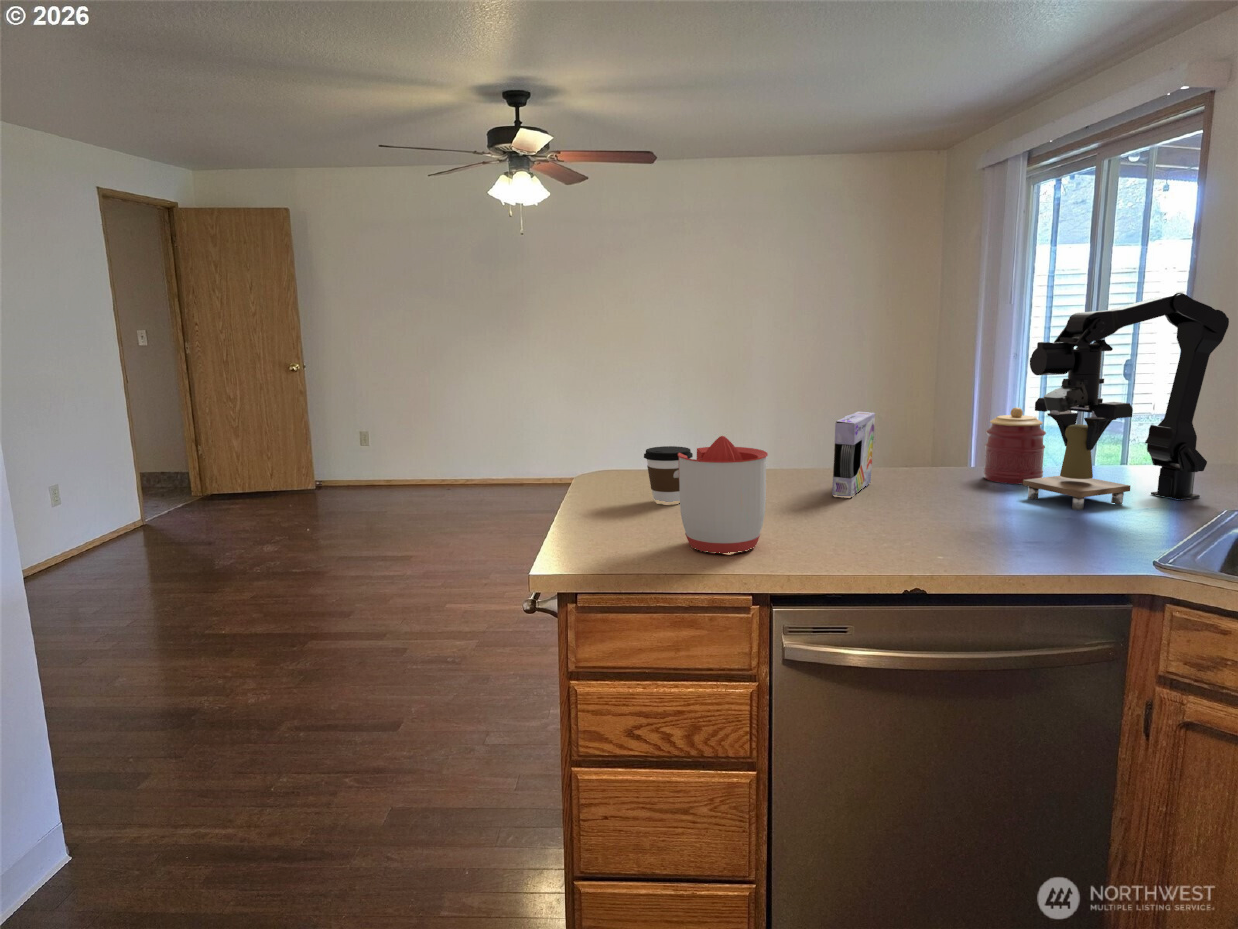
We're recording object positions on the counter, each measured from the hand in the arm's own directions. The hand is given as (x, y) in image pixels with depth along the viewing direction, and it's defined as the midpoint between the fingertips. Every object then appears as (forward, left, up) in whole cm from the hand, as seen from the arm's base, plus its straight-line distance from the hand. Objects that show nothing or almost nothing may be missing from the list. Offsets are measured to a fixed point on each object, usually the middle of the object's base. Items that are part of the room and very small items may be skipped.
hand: (1078, 448), depth 165 cm
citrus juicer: (+84, -1, -12) cm, 85 cm away
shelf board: (0, 0, -9) cm, 9 cm away
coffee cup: (+78, -37, -12) cm, 87 cm away
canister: (-7, -23, -12) cm, 27 cm away
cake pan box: (+35, -29, -12) cm, 47 cm away
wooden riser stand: (0, 0, -11) cm, 11 cm away
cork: (0, 0, -6) cm, 6 cm away
